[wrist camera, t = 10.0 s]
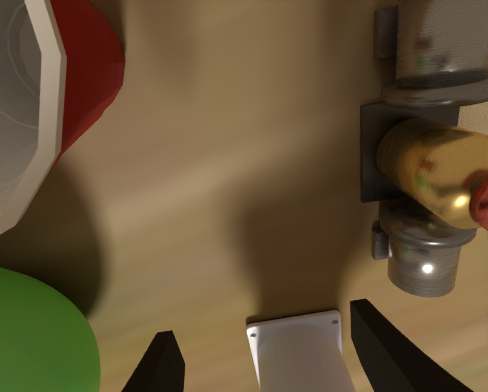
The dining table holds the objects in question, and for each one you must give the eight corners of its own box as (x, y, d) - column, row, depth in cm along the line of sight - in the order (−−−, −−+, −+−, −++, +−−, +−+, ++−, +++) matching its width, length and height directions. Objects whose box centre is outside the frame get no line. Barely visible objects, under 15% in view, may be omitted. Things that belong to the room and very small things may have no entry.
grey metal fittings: (438, 247, 23) (493, 295, 18) (361, 260, 23) (395, 311, 18) (471, -14, 16) (576, -48, 11) (359, 7, 16) (415, -17, 11)
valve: (441, 174, 20) (559, 234, 13) (377, 190, 20) (459, 257, 13) (444, 109, 18) (583, 138, 11) (374, 127, 18) (466, 167, 11)
